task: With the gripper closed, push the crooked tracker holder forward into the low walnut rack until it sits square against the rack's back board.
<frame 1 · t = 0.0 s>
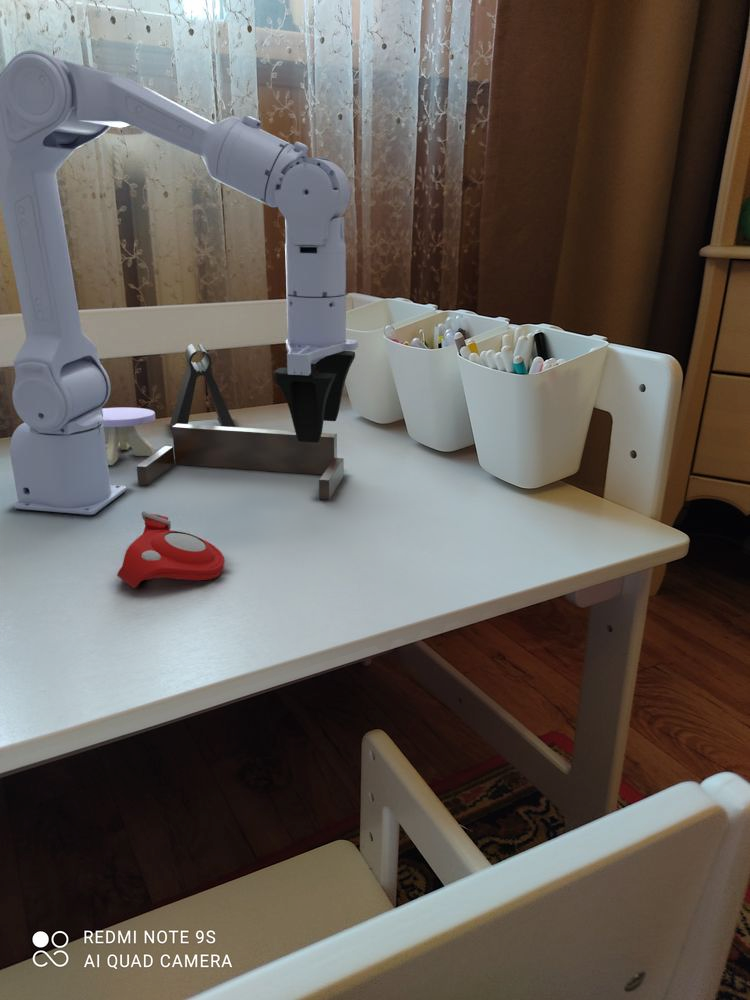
hand: (318, 430, 79), 10 cm above the table, tool pointing down, fingers open, 7 cm apart
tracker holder: (173, 566, 73), on the table
shoe rack: (253, 469, 98), on the table
toy table: (120, 456, 102), on the table
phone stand: (203, 429, 114), on the table
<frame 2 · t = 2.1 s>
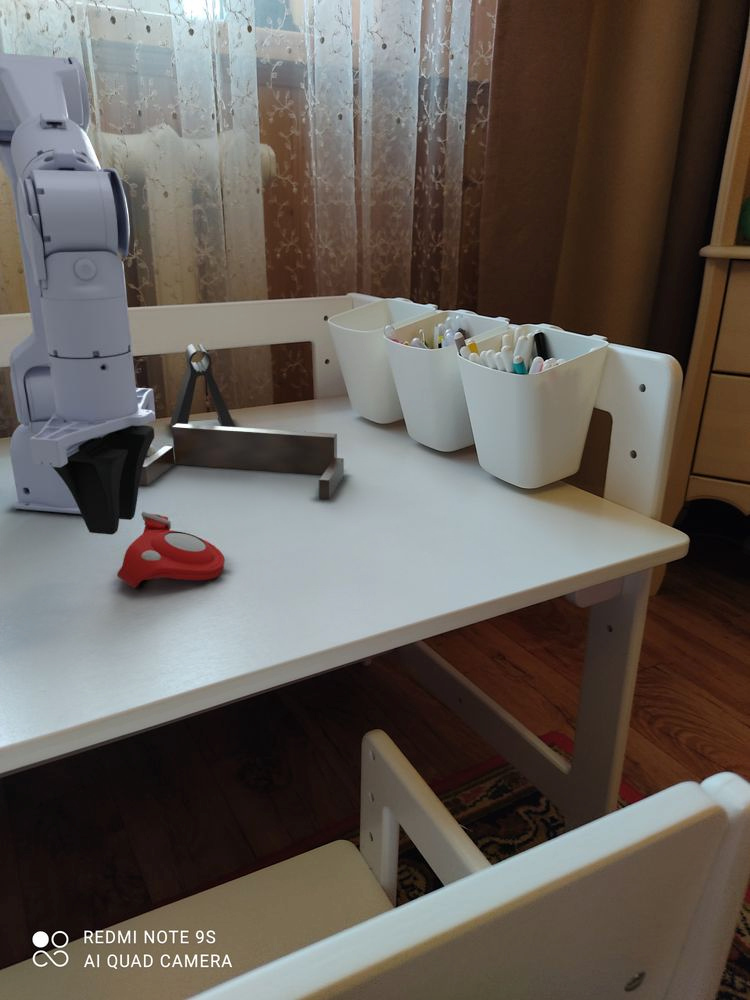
hand: (112, 524, 60), 8 cm above the table, tool pointing down, fingers closed
nothing on the table moved.
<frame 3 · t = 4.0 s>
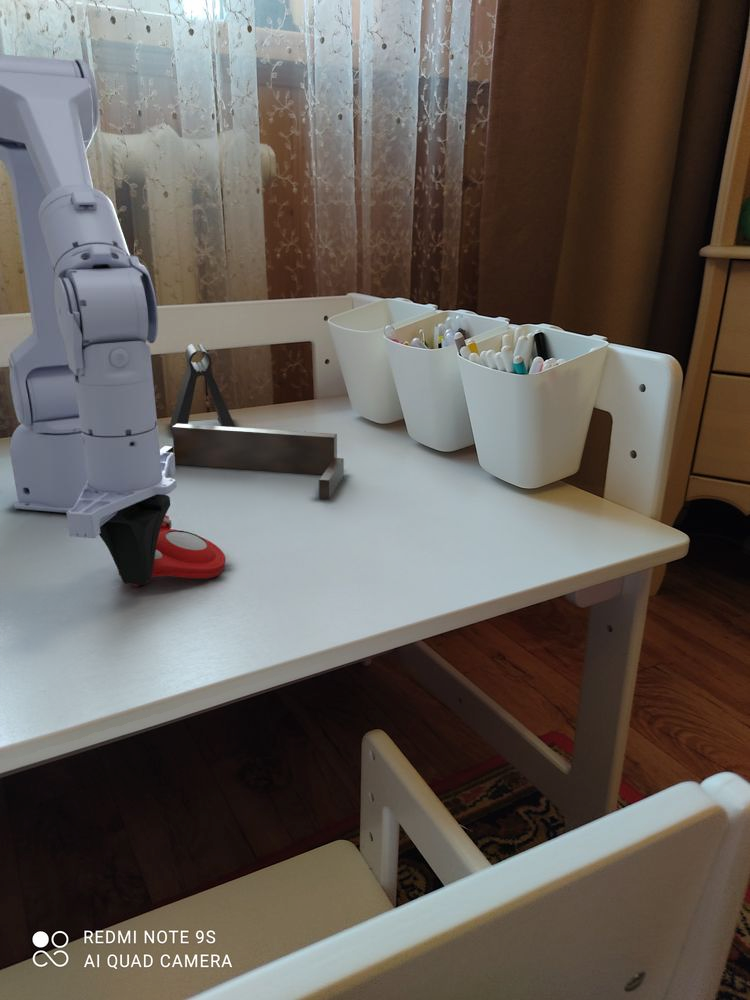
hand: (137, 581, 65), 2 cm above the table, tool pointing down, fingers closed
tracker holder: (174, 565, 73), on the table, touching gripper
everything else where it was.
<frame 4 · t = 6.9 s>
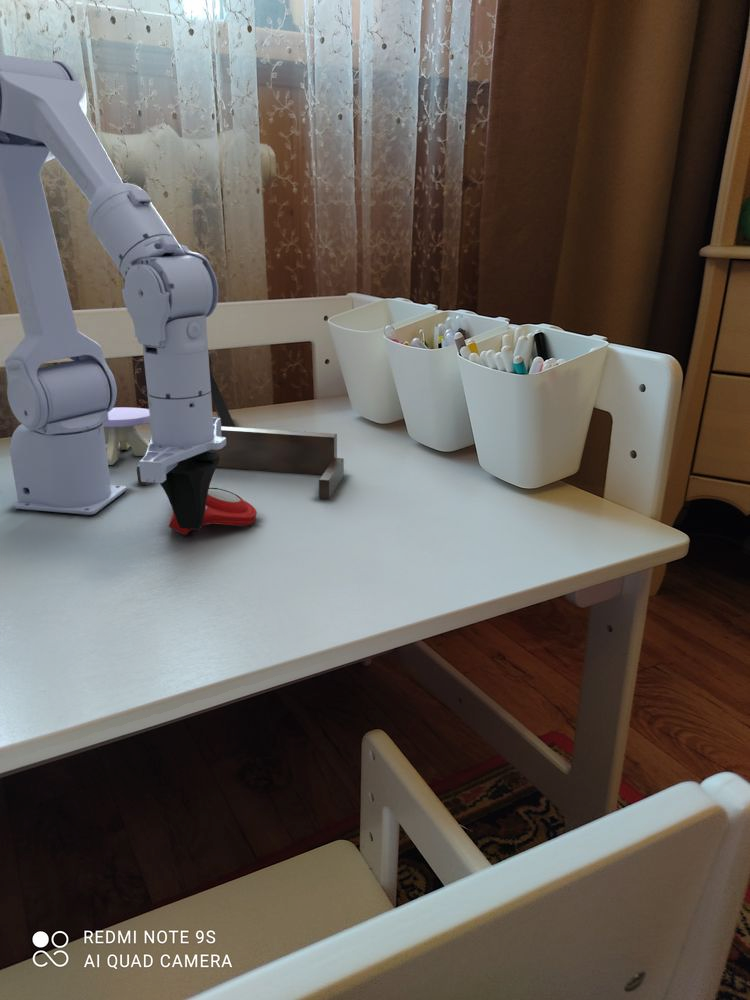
hand: (190, 526, 76), 2 cm above the table, tool pointing down, fingers closed
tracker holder: (209, 518, 83), on the table, touching gripper
everything else where it was.
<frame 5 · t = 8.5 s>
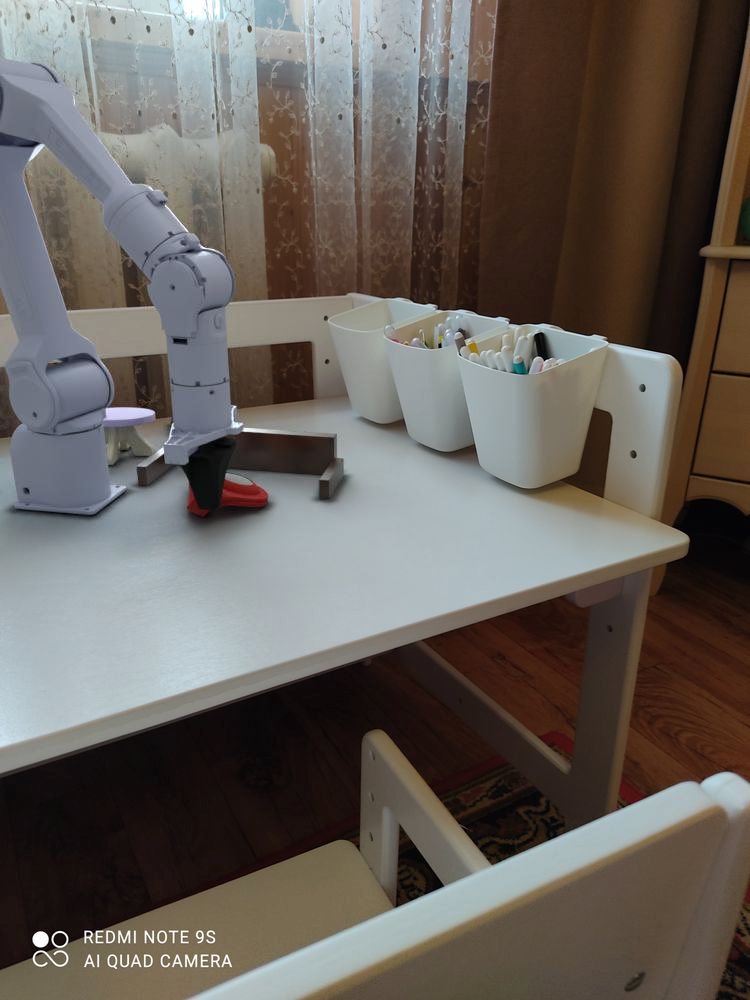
hand: (209, 508, 81), 2 cm above the table, tool pointing down, fingers closed
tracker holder: (223, 501, 88), on the table, touching gripper
everything else where it was.
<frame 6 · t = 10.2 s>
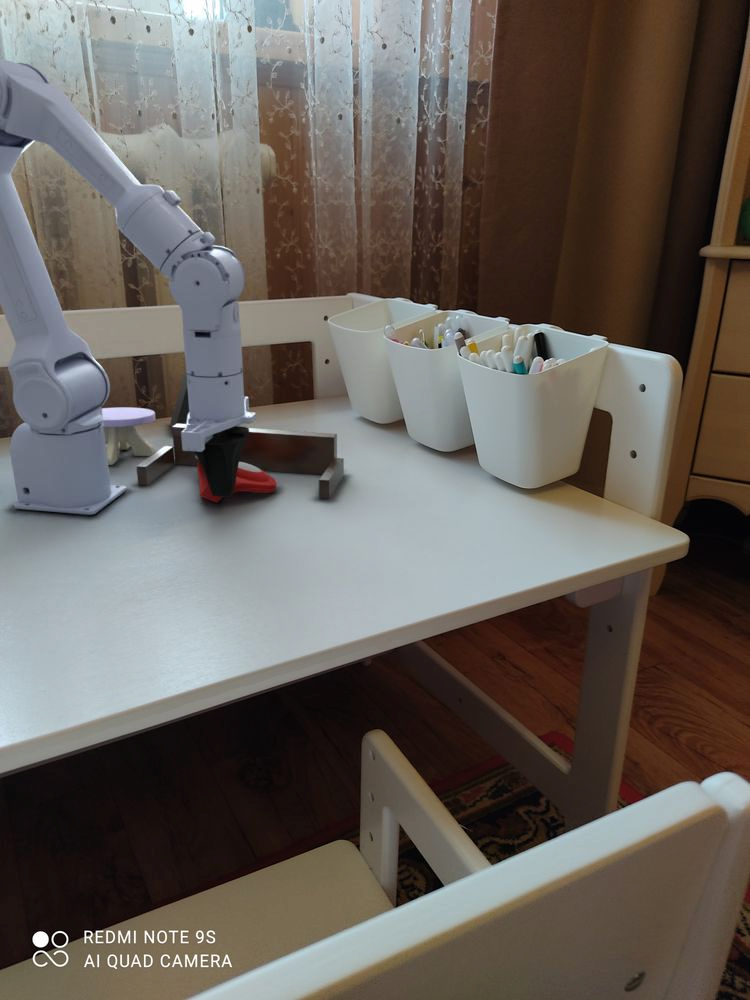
hand: (222, 494, 84), 2 cm above the table, tool pointing down, fingers closed
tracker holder: (232, 488, 92), on the table, touching gripper
everything else where it was.
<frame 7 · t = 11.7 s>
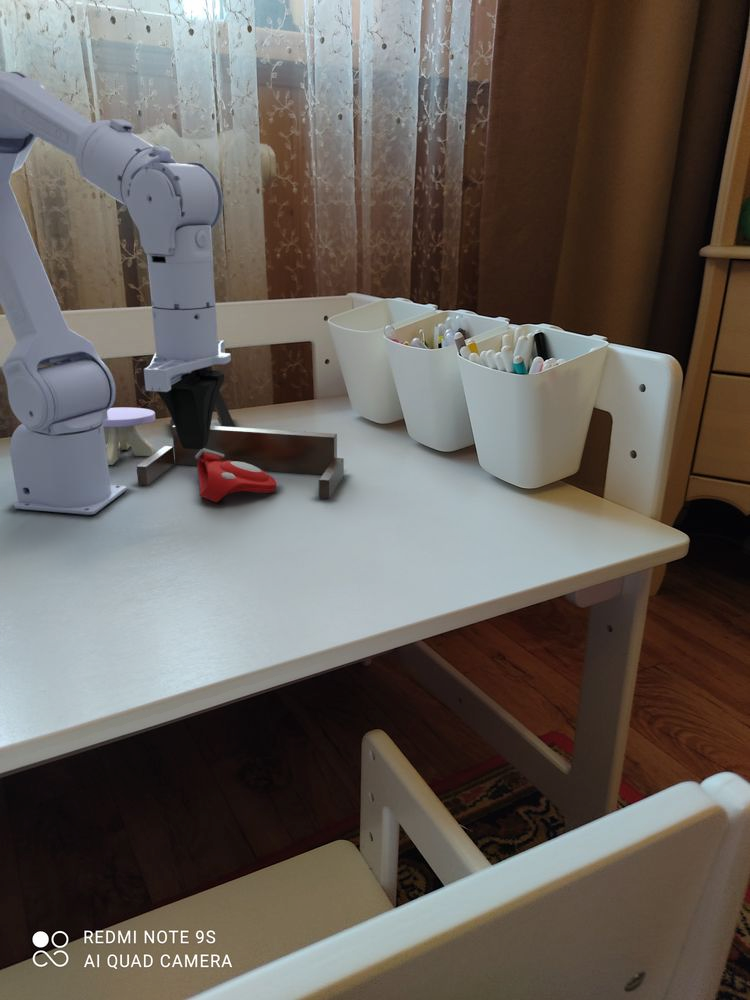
hand: (194, 447, 76), 9 cm above the table, tool pointing down, fingers closed
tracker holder: (232, 488, 92), on the table
everything else where it was.
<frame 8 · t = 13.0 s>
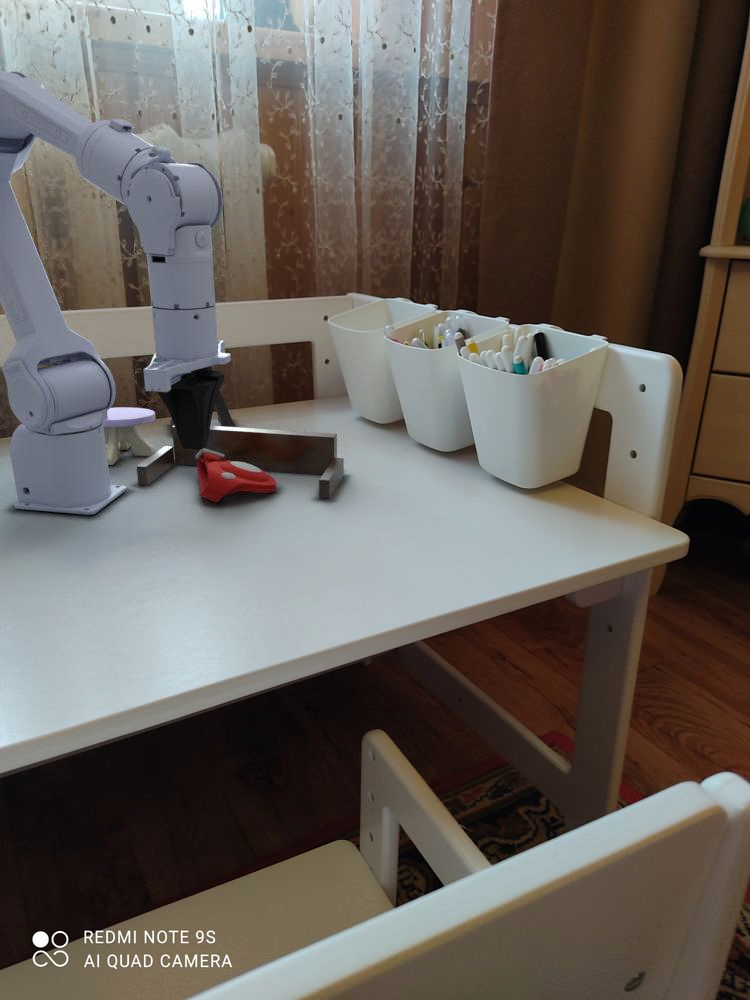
hand: (194, 447, 76), 9 cm above the table, tool pointing down, fingers closed
nothing on the table moved.
at the end: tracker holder inside the target area on the shoe rack (0.6 cm from its centre), point 0.0 cm above the shoe rack's base; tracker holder tilted 0° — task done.
